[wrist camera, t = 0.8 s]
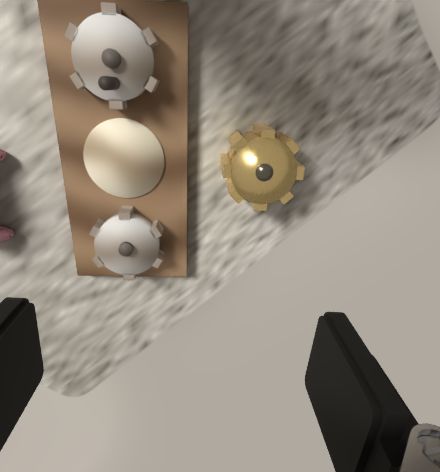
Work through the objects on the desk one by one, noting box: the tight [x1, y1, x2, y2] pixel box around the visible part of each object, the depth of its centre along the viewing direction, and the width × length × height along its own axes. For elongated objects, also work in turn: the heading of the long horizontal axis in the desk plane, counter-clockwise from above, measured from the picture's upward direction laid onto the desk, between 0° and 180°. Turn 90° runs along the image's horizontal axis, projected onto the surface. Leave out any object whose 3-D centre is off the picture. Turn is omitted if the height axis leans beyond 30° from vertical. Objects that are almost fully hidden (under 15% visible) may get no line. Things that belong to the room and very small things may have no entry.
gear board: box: [37, 0, 188, 280], centre depth 31 cm, size 26×12×6 cm, turn 177°
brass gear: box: [220, 124, 305, 211], centre depth 32 cm, size 7×7×5 cm
